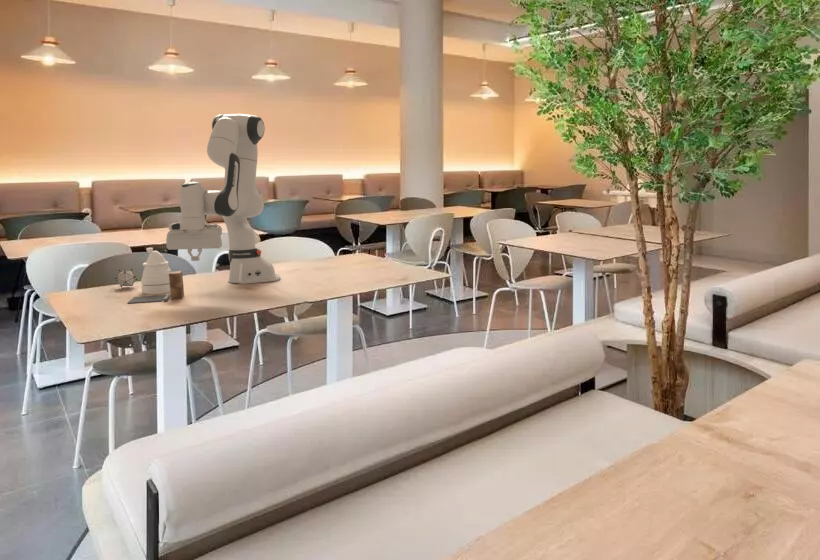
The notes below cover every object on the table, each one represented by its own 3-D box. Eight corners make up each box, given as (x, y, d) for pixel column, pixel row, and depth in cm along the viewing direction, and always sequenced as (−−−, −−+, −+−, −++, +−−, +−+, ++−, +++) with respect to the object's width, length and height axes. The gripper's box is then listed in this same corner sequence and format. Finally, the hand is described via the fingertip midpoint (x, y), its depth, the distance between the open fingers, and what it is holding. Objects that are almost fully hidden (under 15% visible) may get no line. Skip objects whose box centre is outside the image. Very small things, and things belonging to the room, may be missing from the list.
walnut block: (184, 296, 250) (182, 270, 248) (182, 298, 244) (179, 273, 242) (173, 296, 249) (171, 271, 247) (171, 299, 243) (168, 273, 242)
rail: (172, 294, 253) (172, 291, 253) (167, 301, 239) (166, 298, 239) (169, 295, 252) (169, 292, 252) (163, 301, 239) (163, 298, 239)
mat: (166, 295, 251) (166, 294, 251) (161, 301, 240) (161, 300, 240) (134, 297, 249) (134, 296, 249) (127, 303, 237) (127, 302, 237)
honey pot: (143, 295, 254) (139, 250, 251) (140, 290, 266) (136, 247, 263) (177, 291, 260) (173, 247, 257) (173, 287, 271) (169, 245, 268)
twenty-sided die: (129, 297, 272) (126, 280, 265) (112, 289, 273) (108, 273, 266) (142, 283, 278) (140, 267, 271) (126, 276, 279) (122, 260, 272)
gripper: (222, 223, 249) (224, 258, 251) (166, 224, 244) (169, 260, 246) (220, 224, 242) (222, 260, 244) (164, 225, 238) (166, 262, 240)
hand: (195, 260), depth 245 cm, fingers closed
